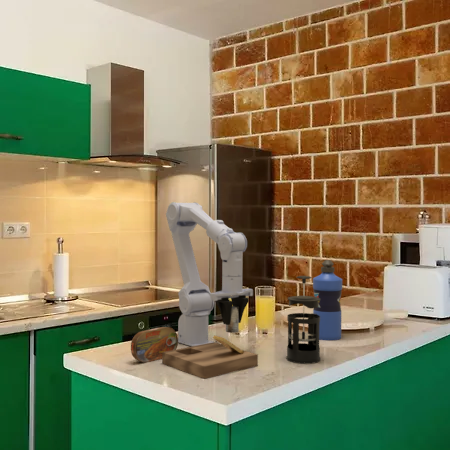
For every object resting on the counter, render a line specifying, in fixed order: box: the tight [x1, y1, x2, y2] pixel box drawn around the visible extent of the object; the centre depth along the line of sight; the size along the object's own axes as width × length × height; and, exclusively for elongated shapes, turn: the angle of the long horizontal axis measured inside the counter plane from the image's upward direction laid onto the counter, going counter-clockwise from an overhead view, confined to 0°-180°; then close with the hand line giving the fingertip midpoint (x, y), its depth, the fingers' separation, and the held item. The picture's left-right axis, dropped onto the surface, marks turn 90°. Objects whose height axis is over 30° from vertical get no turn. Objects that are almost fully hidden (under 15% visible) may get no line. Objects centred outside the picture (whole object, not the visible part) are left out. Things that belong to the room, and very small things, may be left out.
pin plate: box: [161, 341, 259, 379], centre depth 151 cm, size 18×18×3 cm
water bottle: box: [312, 259, 343, 341], centre depth 184 cm, size 9×9×25 cm
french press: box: [285, 275, 321, 365], centre depth 158 cm, size 12×9×23 cm
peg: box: [225, 305, 240, 334], centre depth 162 cm, size 4×4×7 cm
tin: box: [130, 326, 179, 364], centre depth 157 cm, size 15×3×8 cm, turn 136°
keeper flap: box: [212, 335, 245, 354], centre depth 150 cm, size 4×8×1 cm
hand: (232, 323), depth 162 cm, fingers closed on peg, 4 cm apart
